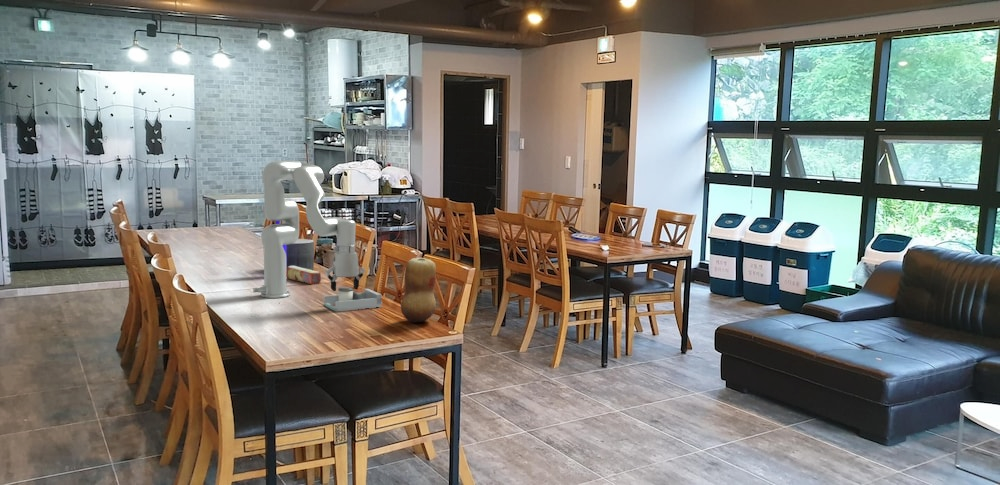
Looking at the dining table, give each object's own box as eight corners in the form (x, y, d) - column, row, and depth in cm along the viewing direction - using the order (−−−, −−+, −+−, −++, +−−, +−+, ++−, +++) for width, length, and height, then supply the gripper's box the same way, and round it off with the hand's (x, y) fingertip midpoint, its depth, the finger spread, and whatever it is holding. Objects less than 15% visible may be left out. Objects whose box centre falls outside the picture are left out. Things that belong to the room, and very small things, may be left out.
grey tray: (335, 311, 311) (335, 298, 311) (323, 305, 323) (323, 292, 322) (381, 307, 322) (381, 294, 322) (368, 301, 334) (368, 288, 333)
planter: (308, 274, 396) (308, 243, 393) (274, 273, 396) (274, 242, 394) (317, 268, 413) (317, 239, 411) (284, 267, 413) (284, 238, 411)
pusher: (358, 308, 318) (358, 294, 317) (348, 302, 327) (348, 289, 327) (387, 305, 325) (387, 292, 324) (376, 300, 335) (376, 287, 334)
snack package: (322, 283, 371) (322, 270, 370) (310, 285, 366) (310, 271, 365) (296, 277, 385) (296, 264, 384) (284, 279, 380) (284, 266, 379)
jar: (341, 309, 317) (341, 290, 316) (335, 306, 322) (336, 287, 321) (355, 307, 320) (355, 289, 319) (349, 305, 325) (350, 286, 324)
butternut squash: (426, 327, 290) (427, 262, 286) (394, 323, 294) (395, 259, 291) (441, 320, 303) (442, 257, 299) (411, 316, 307) (411, 254, 304)
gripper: (329, 251, 310) (328, 293, 312) (368, 250, 320) (367, 290, 322) (322, 248, 316) (321, 289, 319) (361, 247, 326) (360, 286, 328)
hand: (344, 289), depth 320 cm, fingers open, 9 cm apart
